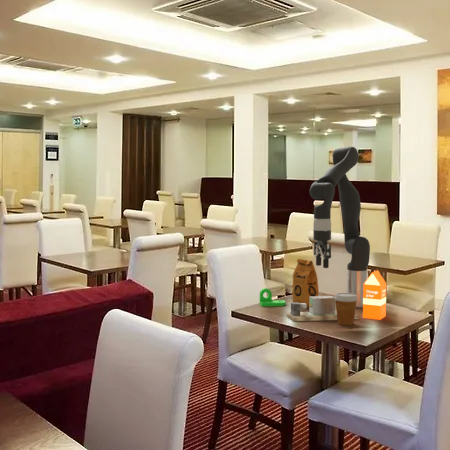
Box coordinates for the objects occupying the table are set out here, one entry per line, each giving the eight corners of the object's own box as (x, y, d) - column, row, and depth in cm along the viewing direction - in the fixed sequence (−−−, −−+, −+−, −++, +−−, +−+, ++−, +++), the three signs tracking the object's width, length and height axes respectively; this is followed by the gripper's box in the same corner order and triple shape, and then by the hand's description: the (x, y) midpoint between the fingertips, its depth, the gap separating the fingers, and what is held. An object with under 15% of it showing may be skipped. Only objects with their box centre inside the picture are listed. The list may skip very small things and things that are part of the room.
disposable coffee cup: (329, 323, 239) (329, 294, 238) (342, 320, 246) (342, 291, 245) (348, 327, 232) (349, 297, 232) (361, 323, 239) (362, 294, 238)
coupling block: (308, 312, 252) (308, 296, 252) (332, 311, 254) (332, 295, 254) (311, 314, 247) (312, 298, 247) (336, 314, 249) (336, 297, 249)
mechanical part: (261, 307, 274) (261, 290, 274) (259, 304, 280) (259, 288, 280) (286, 306, 276) (286, 290, 275) (284, 304, 282) (284, 288, 281)
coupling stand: (349, 313, 259) (349, 299, 258) (359, 319, 248) (359, 304, 248) (286, 315, 253) (286, 301, 253) (293, 321, 243) (293, 305, 242)
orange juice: (386, 316, 255) (386, 270, 254) (380, 319, 247) (381, 272, 246) (368, 314, 259) (369, 269, 258) (362, 317, 251) (363, 271, 250)
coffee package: (303, 308, 271) (304, 261, 270) (289, 304, 282) (290, 258, 281) (321, 306, 275) (322, 260, 274) (307, 302, 286) (307, 257, 285)
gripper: (308, 228, 257) (308, 265, 258) (319, 230, 243) (319, 269, 244) (324, 228, 258) (324, 264, 259) (336, 230, 244) (336, 268, 245)
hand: (322, 266), depth 251 cm, fingers open, 8 cm apart
